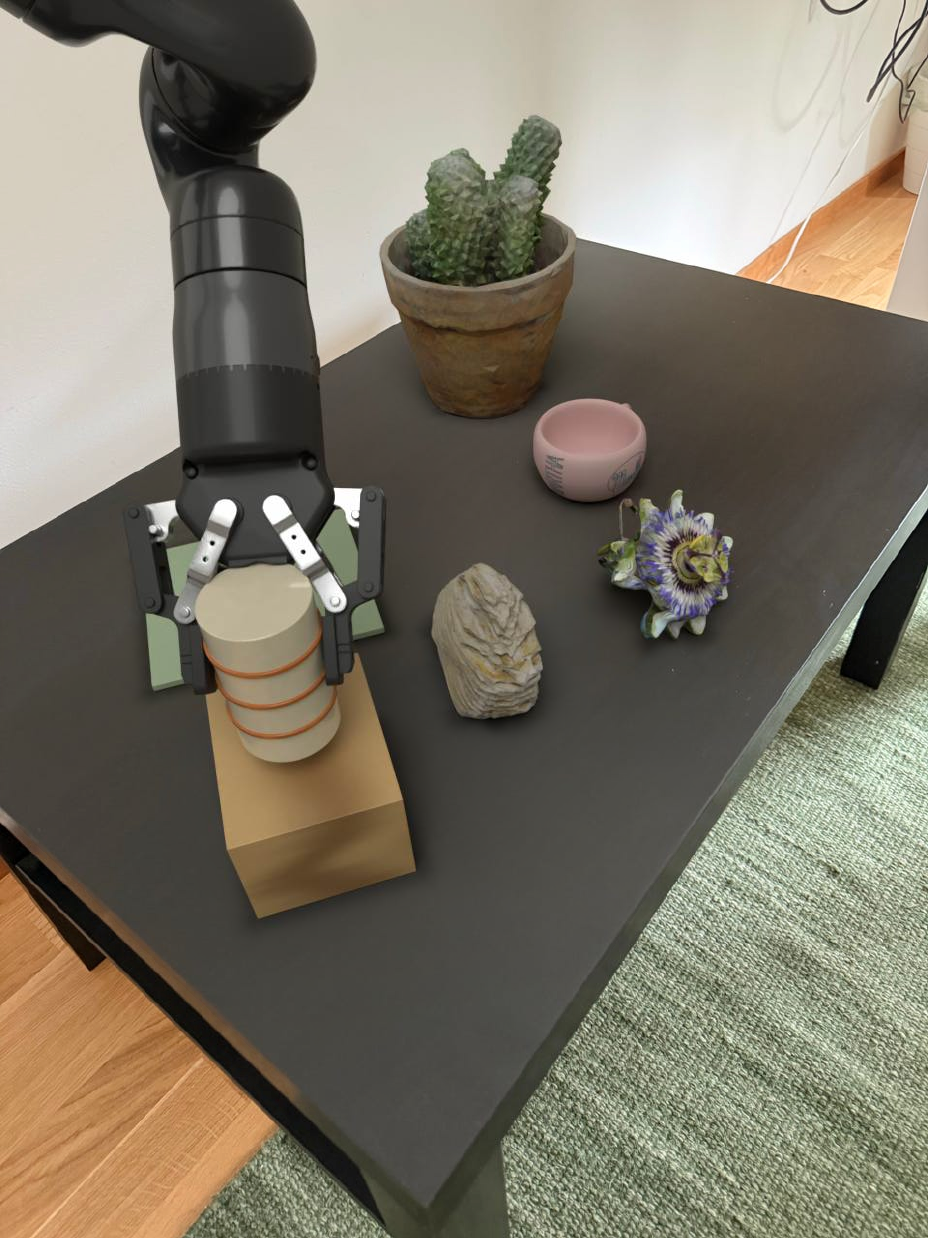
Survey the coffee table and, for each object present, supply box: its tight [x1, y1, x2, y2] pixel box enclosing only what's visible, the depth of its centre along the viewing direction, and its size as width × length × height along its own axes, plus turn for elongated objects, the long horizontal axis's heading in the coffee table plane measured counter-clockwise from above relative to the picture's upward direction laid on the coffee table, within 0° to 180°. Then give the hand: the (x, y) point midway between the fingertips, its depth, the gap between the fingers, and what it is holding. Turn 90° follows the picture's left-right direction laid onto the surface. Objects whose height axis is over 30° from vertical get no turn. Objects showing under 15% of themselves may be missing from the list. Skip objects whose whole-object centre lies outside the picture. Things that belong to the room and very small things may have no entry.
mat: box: [145, 508, 386, 692], centre depth 77 cm, size 18×16×1 cm
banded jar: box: [195, 562, 341, 762], centre depth 51 cm, size 6×6×10 cm
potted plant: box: [378, 114, 578, 419], centre depth 88 cm, size 18×19×25 cm
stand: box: [205, 652, 417, 920], centre depth 59 cm, size 10×12×8 cm
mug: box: [532, 398, 647, 503], centre depth 84 cm, size 12×10×6 cm
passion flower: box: [596, 489, 736, 641], centre depth 71 cm, size 11×11×12 cm
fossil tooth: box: [431, 562, 544, 720], centre depth 66 cm, size 12×6×15 cm
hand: (271, 688), depth 50 cm, fingers closed on banded jar, 6 cm apart
